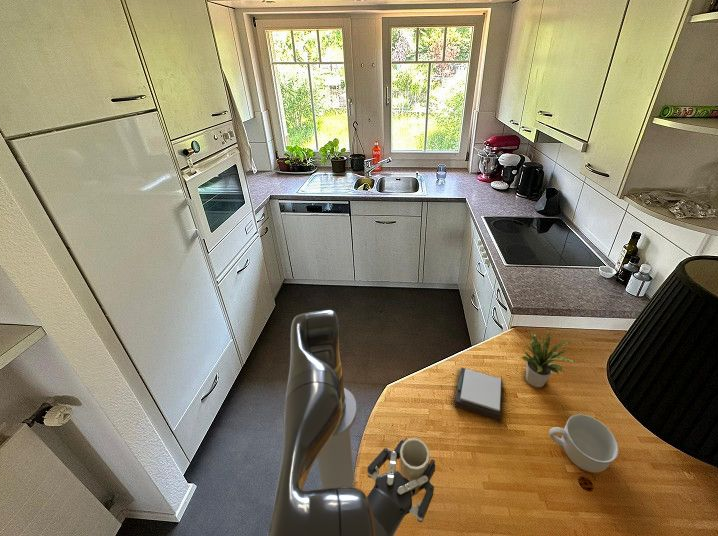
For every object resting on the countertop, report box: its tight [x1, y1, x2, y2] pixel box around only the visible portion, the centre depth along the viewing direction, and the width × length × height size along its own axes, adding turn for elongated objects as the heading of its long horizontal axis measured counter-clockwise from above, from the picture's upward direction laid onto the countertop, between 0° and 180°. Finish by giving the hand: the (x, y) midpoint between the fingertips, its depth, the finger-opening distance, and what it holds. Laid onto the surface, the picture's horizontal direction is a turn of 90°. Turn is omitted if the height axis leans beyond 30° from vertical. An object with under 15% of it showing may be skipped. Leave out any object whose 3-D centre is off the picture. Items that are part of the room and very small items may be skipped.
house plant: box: [519, 329, 576, 388], centre depth 94 cm, size 14×14×16 cm
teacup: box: [548, 413, 619, 473], centre depth 78 cm, size 14×11×8 cm
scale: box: [454, 367, 503, 421], centre depth 93 cm, size 12×12×3 cm
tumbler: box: [398, 437, 431, 493], centre depth 71 cm, size 6×6×10 cm
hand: (419, 451), depth 72 cm, fingers closed on tumbler, 6 cm apart
